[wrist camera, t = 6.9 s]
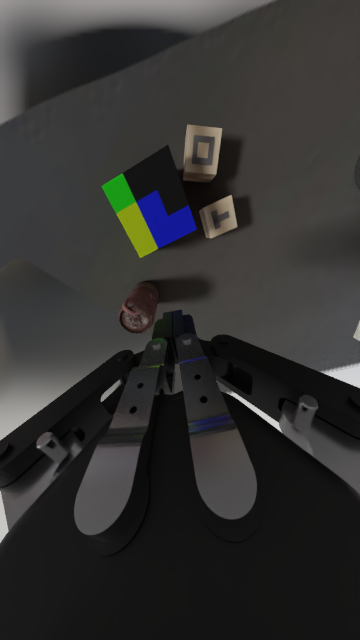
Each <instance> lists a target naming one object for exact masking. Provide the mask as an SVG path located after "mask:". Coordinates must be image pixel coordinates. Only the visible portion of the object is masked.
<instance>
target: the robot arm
mask: <svg viewBox="0 0 360 640" xmlns="http://www.w3.org/2000/svg"><path fill="white" fill-rule="evenodd" d="M356 183H357V185H358V187H359V188H360V158H359V161H358V164H357V167H356ZM178 359H179V368H180V375H181V381H182V388H183V391H181V392H178V393H176V394H174V385H175V370H174V369H175V364H178ZM237 366H238V367H237ZM246 371H247V372H246ZM118 380H120V382H121V385H120V386H119V387H118V388H117V389H116V390H115V391H114V392H113V393H112V394H110V395H109V396H108V397H107V398H106V399H105V400H104V401H103V402H101V401H100V400H101V396H102V395H103V393H104V392H105V391H106V390H108V389H109V388H110V387H111V386H112V385H113V384H114V383H116V382H117V381H118ZM217 381H219V382H220V383H222V384H223V385H225V386H226V387H228V388H229V389H230V390H232V391H233V392H235V393H236V394H238V395H239V396H241V397H242V398H244V399H245V400H247V401H248V402H250V403H251V404H252V405H254V406H255V407H257V408H258V409H260V410H261V411H263V412H264V413H266V414H267V415H268V416H270V417H271V418H273V419H274V420H276V421H277V422H279V425H280V428H281V431H282V433H281V432H280V431H279V430H277V429H276V428H275V427H273V426H272V425H271V424H269V423H268V422H267V421H265V420H264V419H263V418H261V417H260V416H259V415H257V414H256V413H255V412H253V411H252V410H251V409H250V408H248V407H247V406H246V405H244V404H243V403H242V402H240V401H239V400H238V399H236V398H234V397H233V396H231V395H229V394H227V393H224V392H221V391H220V388H219V385H218V383H217ZM0 491H1V494H2V499H3V504H4V509H5V514H6V519H7V524H8V529H9V532H8V533H7V534H6V536H5V537H4V539H3V540H2V542H1V543H0V640H360V388H357V387H355V386H353V385H350V384H348V383H345V382H343V381H340V380H338V379H335V378H333V377H330V376H328V375H326V374H323V373H321V372H318V371H316V370H313V369H311V368H308V367H306V366H303V365H301V364H298V363H296V362H294V361H291V360H289V359H286V358H284V357H281V356H279V355H276V354H274V353H271V352H269V351H266V350H264V349H262V348H259V347H257V346H254V345H252V344H249V343H247V342H244V341H242V340H239V339H237V338H234V337H232V336H229V335H217V336H215V337H213V338H212V340H211V341H204V340H201V339H199V338H198V337H197V335H196V331H195V327H194V322H193V318H192V316H190V315H189V314H188V315H183V314H182V310H177V311H173V312H172V311H171V312H165V313H163V319H159V320H157V322H156V323H155V325H154V331H153V336H152V340H151V341H150V342H148V344H147V345H146V347H145V350H144V351H142V352H140V353H137V354H134V353H133V352H132V351H131V350H123V351H120V352H118V353H117V354H115V355H114V356H113V357H111V358H110V359H109V360H107V361H106V362H105V363H103V364H102V365H101V366H99V367H98V368H97V369H95V370H94V371H93V372H91V373H90V374H89V375H87V376H86V377H85V378H83V379H82V380H81V381H79V382H78V383H77V384H75V385H74V386H73V387H71V388H70V389H69V390H67V391H66V392H65V393H63V394H62V395H61V396H59V397H58V398H57V399H55V400H54V401H53V402H51V403H50V404H49V405H48V406H46V407H45V408H43V409H42V410H41V411H39V412H38V413H37V414H35V415H34V416H33V417H31V418H30V419H29V420H27V421H26V422H25V423H23V424H22V425H21V426H19V427H18V428H17V429H15V430H14V431H13V432H11V433H10V434H9V435H7V436H6V437H5V438H3V439H2V440H1V441H0Z"/></svg>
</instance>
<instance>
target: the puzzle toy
mask: <svg viewBox="0 0 360 640" xmlns="http://www.w3.org/2000/svg"><path fill="white" fill-rule="evenodd" d="M102 188H103V190H104V192H105V194H106V195H107V197H108V199H109V201H110V203H111V205H112V207H113V208H114V210H115V212H116V214H117V216H118V218H119V220H120V221H121V223H122V225H123V227H124V229H125V231H126V232H127V234H128V236H129V238H130V240H131V242H132V244H133V245H134V247H135V249H136V251H137V253H138V255H139V257H140V258H141V257H143V256H145V255H147V254H149V253H151V252H153V251H155V250H157V249H159V248H161V247H163V246H165V245H167V244H169V243H171V242H173V241H175V240H177V239H179V238H181V237H183V236H185V235H187V234H189V233H191V232H193V231H195V230H197V228H196V225H195V222H194V219H193V216H192V213H191V210H190V207H189V204H188V201H187V199H186V196H185V193H184V190H183V187H182V184H181V181H180V178H179V175H178V172H177V169H176V166H175V163H174V160H173V158H172V155H171V152H170V149H169V146H168V145H167V146H165V147H164V148H162V149H161V150H159V151H157V152H156V153H154V154H152V155H151V156H149V157H148V158H146V159H144V160H143V161H141V162H140V163H138V164H136V165H135V166H133V167H132V168H130V169H128V170H127V171H125V172H124V173H122V174H120V175H119V176H117V177H116V178H114V179H112V180H111V181H109V182H108V183H106V184H104V185H103V186H102Z"/></svg>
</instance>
